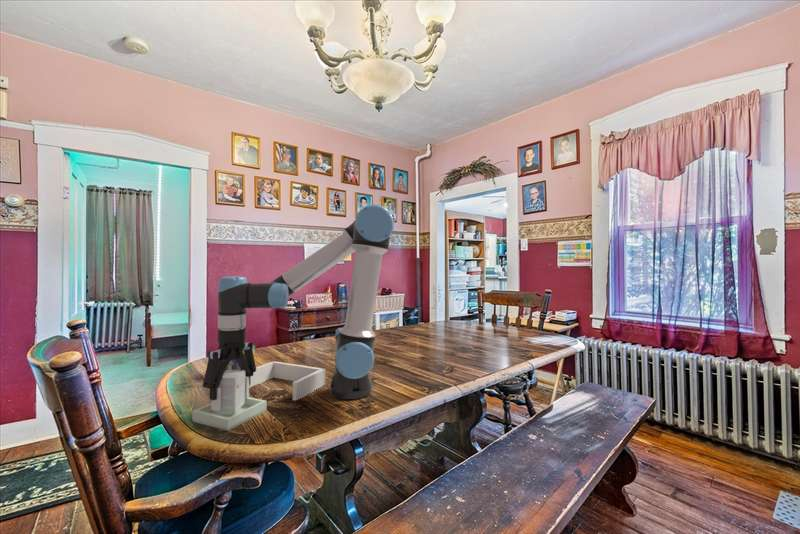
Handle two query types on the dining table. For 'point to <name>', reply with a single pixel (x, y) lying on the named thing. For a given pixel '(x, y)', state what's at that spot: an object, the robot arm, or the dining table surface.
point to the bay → (291, 376)
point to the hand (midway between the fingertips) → (231, 403)
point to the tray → (229, 421)
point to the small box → (232, 391)
